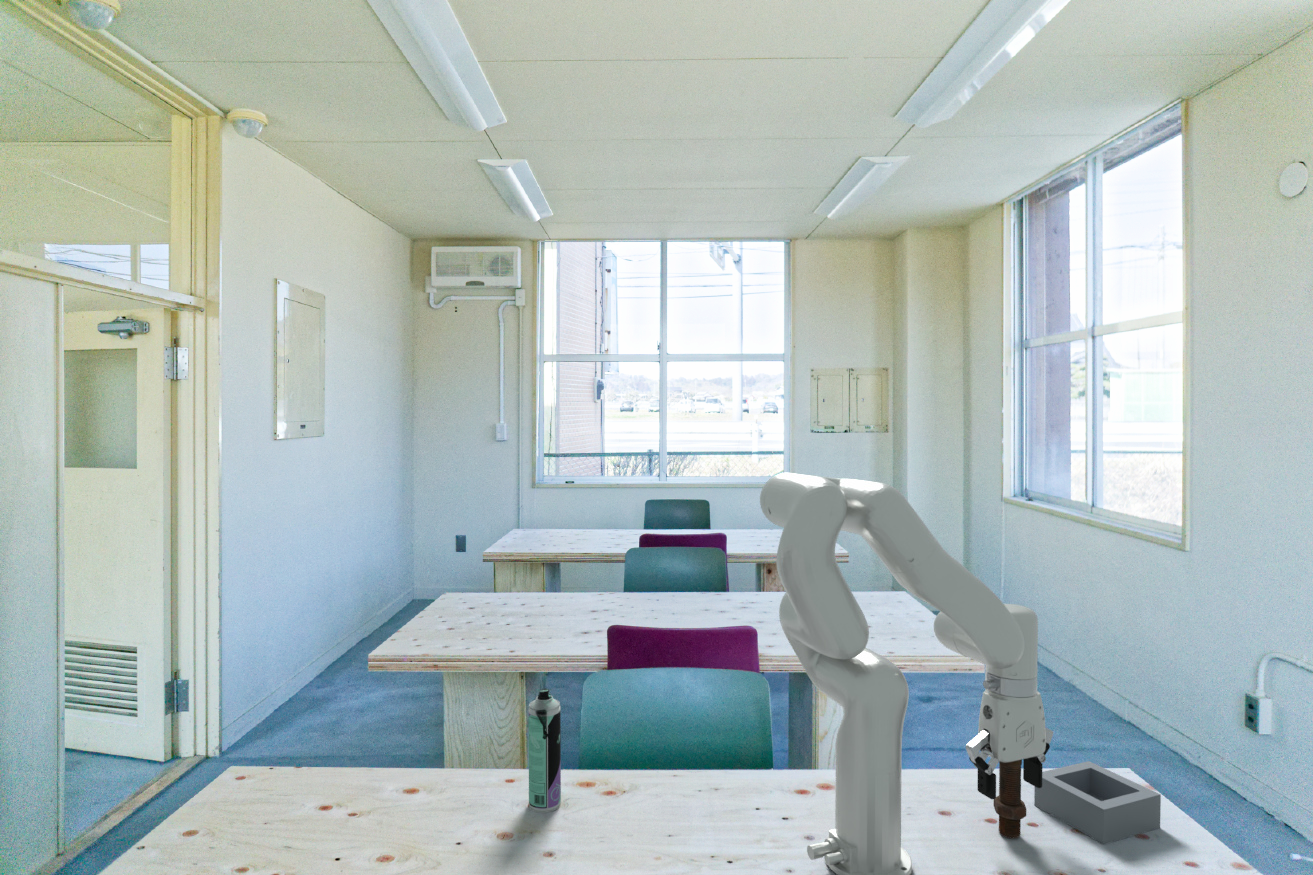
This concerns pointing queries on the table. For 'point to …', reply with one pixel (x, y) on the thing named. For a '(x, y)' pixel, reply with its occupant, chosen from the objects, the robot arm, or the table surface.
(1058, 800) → the socket block
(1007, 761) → the robot arm
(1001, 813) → the bolt
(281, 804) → the table surface
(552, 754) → the spray can
